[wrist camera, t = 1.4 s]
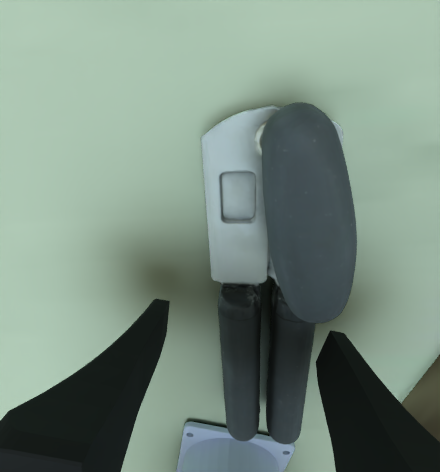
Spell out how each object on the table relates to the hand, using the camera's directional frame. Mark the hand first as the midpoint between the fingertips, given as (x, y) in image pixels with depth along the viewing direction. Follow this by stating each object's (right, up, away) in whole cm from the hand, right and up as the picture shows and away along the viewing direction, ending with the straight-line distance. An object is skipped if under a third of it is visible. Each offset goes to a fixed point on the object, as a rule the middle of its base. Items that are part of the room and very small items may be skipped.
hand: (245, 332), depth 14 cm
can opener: (+1, +1, +3) cm, 4 cm away
